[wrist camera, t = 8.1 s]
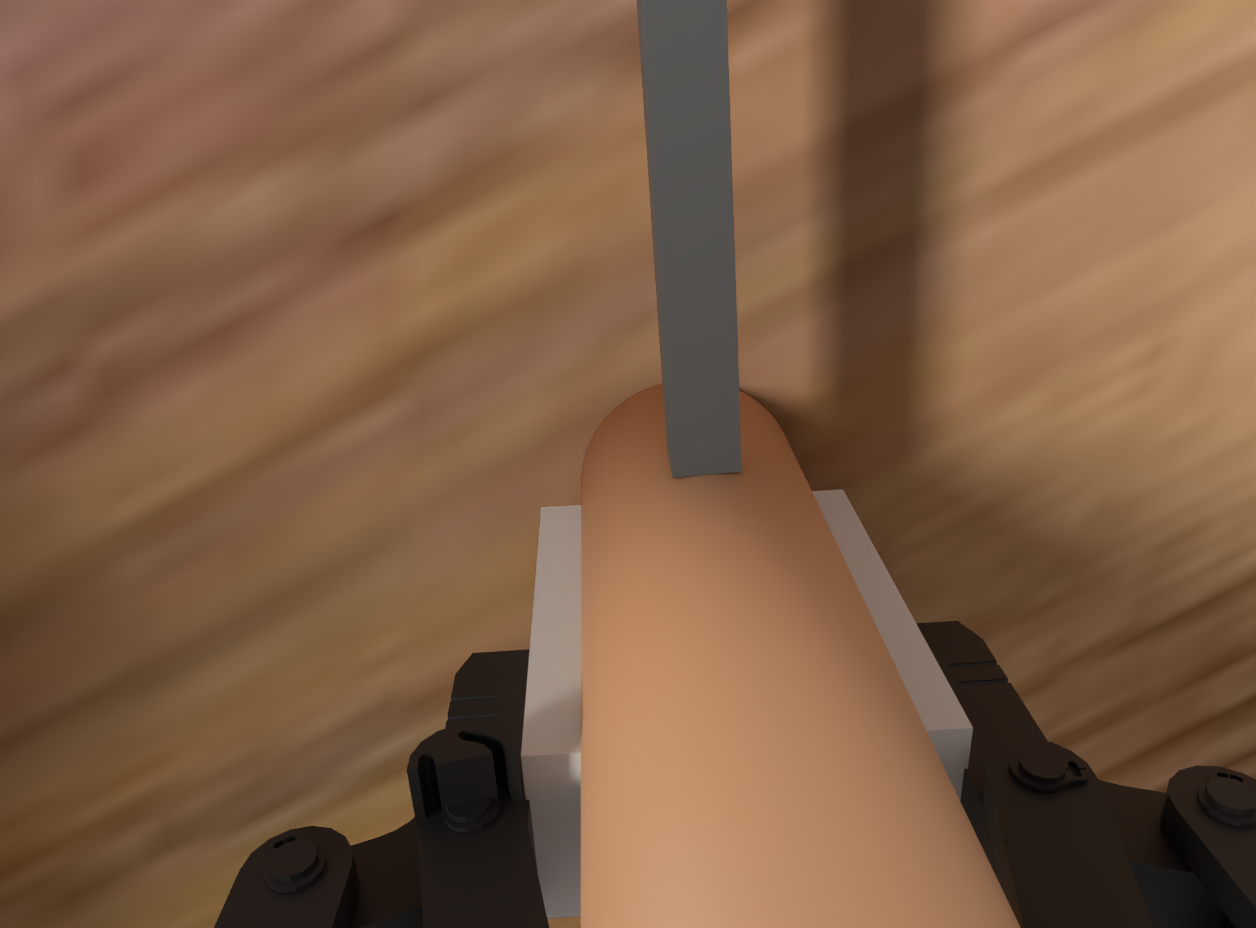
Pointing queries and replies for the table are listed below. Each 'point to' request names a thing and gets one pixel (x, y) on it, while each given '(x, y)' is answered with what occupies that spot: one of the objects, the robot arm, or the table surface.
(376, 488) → the table surface
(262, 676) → the table surface
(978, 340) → the table surface
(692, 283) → the push rod with block
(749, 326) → the table surface
